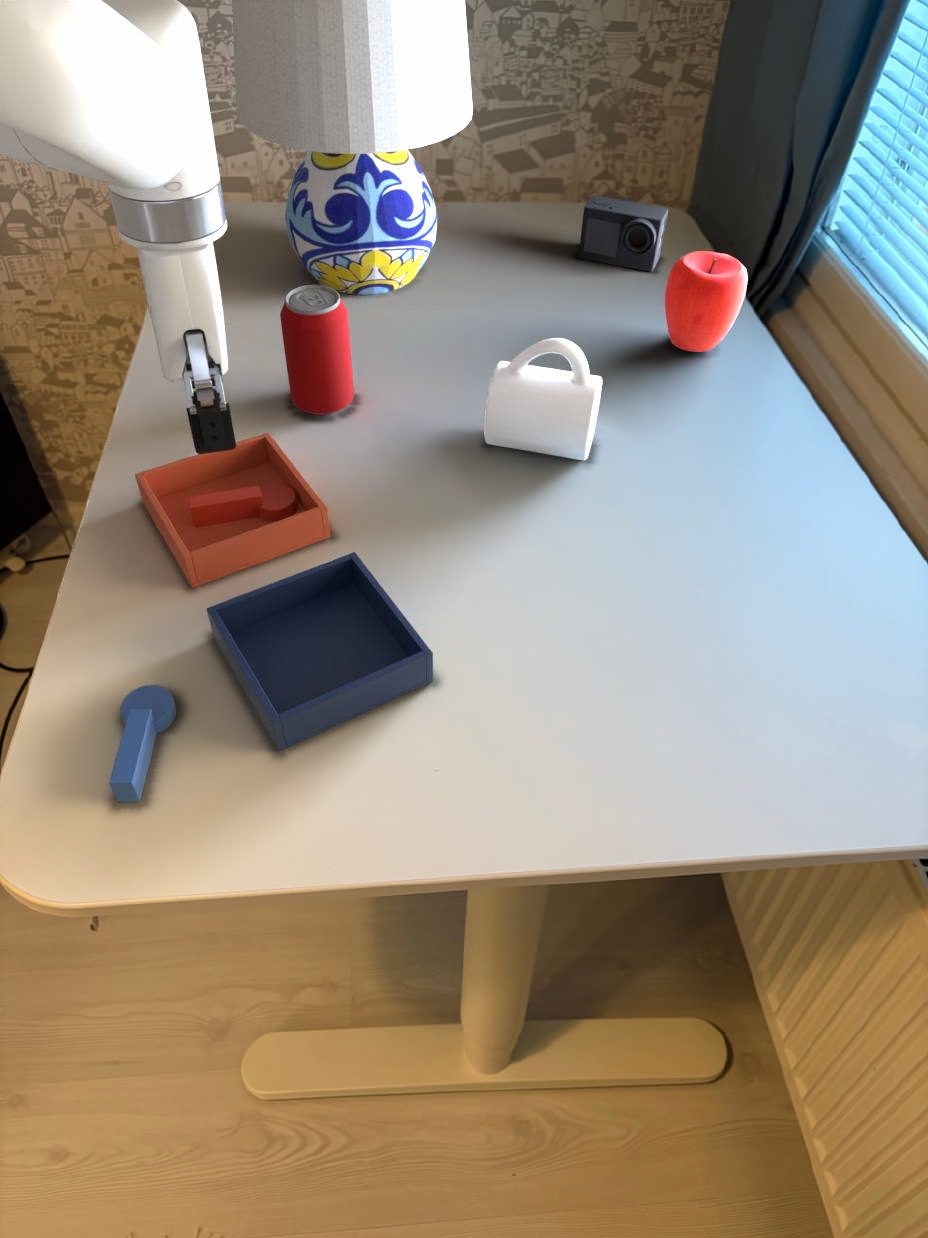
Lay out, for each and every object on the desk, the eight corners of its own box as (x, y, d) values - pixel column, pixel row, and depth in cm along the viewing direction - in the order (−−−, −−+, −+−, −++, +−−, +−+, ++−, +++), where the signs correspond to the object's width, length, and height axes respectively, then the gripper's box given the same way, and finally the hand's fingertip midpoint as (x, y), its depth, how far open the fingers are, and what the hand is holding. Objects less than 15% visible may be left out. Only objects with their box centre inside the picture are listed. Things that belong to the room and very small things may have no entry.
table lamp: (270, 331, 108) (209, -90, 79) (251, 232, 126) (197, -142, 97) (490, 310, 113) (511, -95, 84) (443, 217, 131) (446, -143, 102)
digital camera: (574, 261, 123) (580, 209, 117) (585, 245, 126) (591, 193, 121) (650, 276, 120) (660, 223, 115) (659, 258, 124) (668, 206, 119)
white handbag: (499, 414, 98) (506, 310, 89) (595, 430, 96) (611, 326, 87) (481, 459, 92) (487, 353, 83) (582, 477, 91) (598, 370, 82)
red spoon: (196, 535, 83) (190, 515, 81) (192, 509, 85) (187, 489, 83) (300, 517, 85) (297, 497, 83) (293, 492, 87) (290, 472, 85)
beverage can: (337, 378, 102) (328, 275, 93) (365, 408, 98) (358, 304, 89) (281, 394, 99) (266, 290, 90) (307, 426, 95) (294, 321, 87)
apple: (675, 371, 104) (695, 281, 97) (642, 333, 110) (658, 245, 102) (743, 359, 107) (768, 270, 99) (707, 323, 112) (727, 236, 104)
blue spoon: (156, 801, 64) (148, 783, 63) (101, 802, 64) (92, 783, 62) (180, 695, 71) (174, 676, 69) (131, 696, 71) (123, 676, 69)
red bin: (192, 588, 79) (184, 558, 76) (143, 503, 86) (134, 473, 84) (330, 537, 84) (327, 507, 81) (272, 460, 91) (268, 431, 89)
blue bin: (279, 752, 67) (273, 723, 65) (213, 637, 75) (205, 608, 72) (433, 681, 72) (433, 652, 70) (357, 580, 80) (354, 551, 77)
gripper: (110, 166, 69) (157, 368, 81) (118, 267, 57) (171, 485, 70) (211, 159, 70) (242, 358, 83) (239, 256, 59) (270, 470, 71)
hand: (210, 416), depth 76 cm, fingers open, 9 cm apart
